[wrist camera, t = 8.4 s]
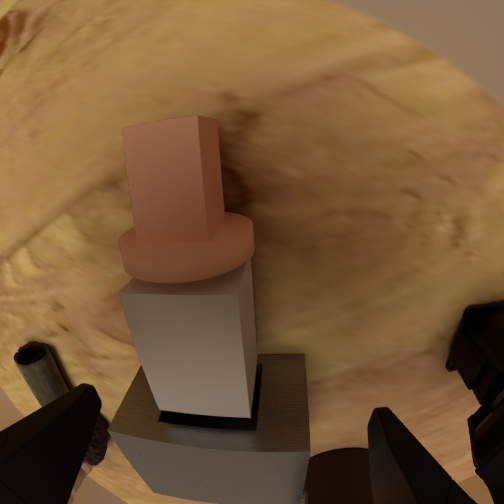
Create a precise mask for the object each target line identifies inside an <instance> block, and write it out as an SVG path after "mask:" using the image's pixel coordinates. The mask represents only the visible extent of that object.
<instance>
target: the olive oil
mask: <svg viewBox="0 0 504 504" xmlns="http://www.w3.org/2000/svg"><path fill="white" fill-rule="evenodd" d="M300 504H374V498H373V491H372V485H371V478H370V471H369V450H365V449H356V448H351V449H340V450H334V451H330V452H326V453H322V454H319V455H317V456H314V457H312V458H310V459H309V463H308V468H307V474H306V479H305V484H304V489H303V493H302V498H301V503H300Z"/></svg>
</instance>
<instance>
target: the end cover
mask: <svg viewBox="0 0 504 504" xmlns="http://www.w3.org/2000/svg"><path fill="white" fill-rule="evenodd" d="M122 130H123V141H124V151H125V160H126V169H127V177H128V184H129V192H130V199H131V205H132V212H133V218H134V224H135V227H134V228H132V229H130V230H129V231H127V232H126V233H125V234H123V235H122V236H121V238H120V240H119V246H120V251H121V255H122V260H123V264H124V268H125V271H126V272H127V273H128V274H129V275H130V276H132V277H133V278H132V280H131V281H130V282H129V283H128V284H127V285H126V286H125V287H124V288H123V289H122V291H121V292H120V293H119V295H120V299H121V302H122V306H123V309H124V313H125V316H126V319H127V323H128V326H129V329H130V332H131V335H132V338H133V341H134V344H135V347H136V350H137V353H138V356H139V359H140V362H141V364H142V367H143V370H144V373H145V375H146V378H147V380H148V383H149V386H150V388H151V391H152V393H153V396H154V398H155V401H156V403H157V405H158V408H159V410H165V411H172V412H180V413H189V414H199V415H210V416H224V417H242V418H251V410H252V401H253V393H254V384H255V375H256V366H257V357H258V355H257V341H256V326H255V311H254V297H253V282H252V267H251V257H252V255H253V253H254V249H255V247H254V231H253V222H252V221H251V220H250V219H249V218H248V217H245V216H243V215H240V214H235V213H229V212H225V210H224V199H223V187H222V175H221V162H220V149H219V136H218V122H217V119H212V118H208V117H203V116H198V115H196V116H189V117H181V118H175V119H168V120H162V121H156V122H150V123H145V124H140V125H134V126H129V127H125V128H122Z"/></svg>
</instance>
